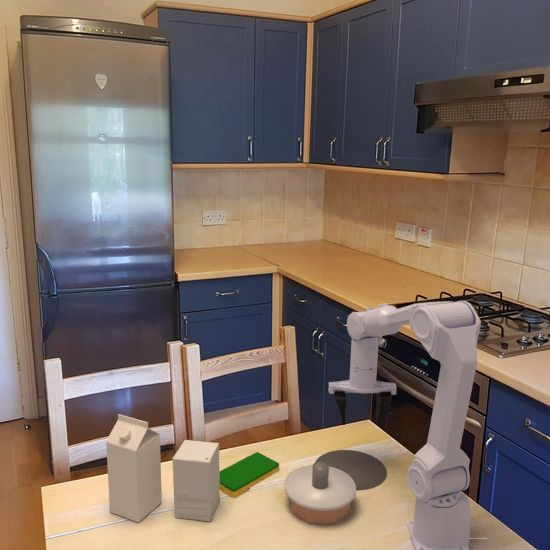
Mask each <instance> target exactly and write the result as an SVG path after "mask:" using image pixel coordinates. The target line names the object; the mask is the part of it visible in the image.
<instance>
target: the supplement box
mask: <svg viewBox="0 0 550 550" xmlns="http://www.w3.org/2000/svg"><path fill="white" fill-rule="evenodd" d="M178 448H179V449H177V451H176V452H175V454H174V456H173V457H172V458H171V459H172V476H173V478H172V479H173V480H172V481H173V483H172V484H173V505H174V506H173V507H174V511H173V512H174V518H175V519H176V518H178V519H187V520H192V521H193V520H195V521H203V522H211V520H212V518H213V516H214V513H215V511H216V510H217V507H218V504H219V502H220V500H221V496H220V495H221V494H220V492H221V490H220V479H219V471H220V443H219V442H210V441H201V440H191V439H190V440H189V439H184V440H183V442H182V444H181V445H180V447H178Z"/></svg>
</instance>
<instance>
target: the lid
mask: <svg viewBox="0 0 550 550" xmlns="http://www.w3.org/2000/svg"><path fill="white" fill-rule="evenodd" d="M315 462H316V461H315ZM315 462H314V463H313V464H310V465H305V466H300V467H298V468H295V469H293V470H292V471H290V473H288V474H287V476H286V477H285V479H284V485H283V486H284V488H283V489H284V491H285V495H286V496H287V497H288V499H289V500H290V499H291V500H292V501H293V502H295V503H296V504H298V505H300V506H302V507H305V508H308V509H312V510H321V511H328V510H335V509H339V508H342V507H344V506H346V505H348V504H349V503H350V504H351V502H353V500H354V499H355V496H356V495H357V493H356V492H357V491H356V485H355V482H354V481H353V479H352V478H351V477H350V476H349V475H348V474H346V473H345V472H343V471H341V470H339V469H336V468H333V467H330V466H329V465H328V464H327V463H324V462H316V463H315Z"/></svg>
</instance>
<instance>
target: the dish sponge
mask: <svg viewBox="0 0 550 550" xmlns="http://www.w3.org/2000/svg"><path fill="white" fill-rule="evenodd" d="M279 471H280V462H278V461H276V460H274V459H272V458H270V457H268V456H266V455H264V454H263V453H261V452H259V451H256V452H254V453H252V454H250V455H248V456H246V457H244V458H243V459H240V460H239V461H237V462H235V463H233V464H231V465H229V466H227V467H225V468H224V469H221V470H219V479H220V492H222V493H224V494H226V495H227V496H228V497H230V498H232V499H235V498H237V497H240V495H242V494H244V493H247V491H249V490H250V489H251V487H253V486H254V485H257V484H258V483H260V482H261V481H263V480H265V479H267V478H269V477H270V476H272V475H274V474H275V473H277V472H279Z"/></svg>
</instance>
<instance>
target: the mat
mask: <svg viewBox="0 0 550 550" xmlns="http://www.w3.org/2000/svg"><path fill="white" fill-rule="evenodd" d="M316 462H324V463H327V464H328V465H329V466H330V467H333V468H336V469H339V470H341V471H343V472H345V473H346V474H348V475H349V476H350V477H351V478H352V479H353V481H354V482H355V485H356V492H357V491H366V490H367V491H368V490H372V489H374V488H376V487H379V486H380V485H382V484H383V483H384V482H385V481H386V479H387V476H388V471H387V468H386V466H385V464H384V463H383V462H382V461H380V459H378V458H377V457H376V456H373V455H371V454H369V453H366V452H362V451H359V450H353V449H352V450H351V449H340V450H332V451H328V452H325V453H323V454H321V455H320V456H319V457H318V458H317V459H316V460H315V462H314V463H316Z"/></svg>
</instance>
